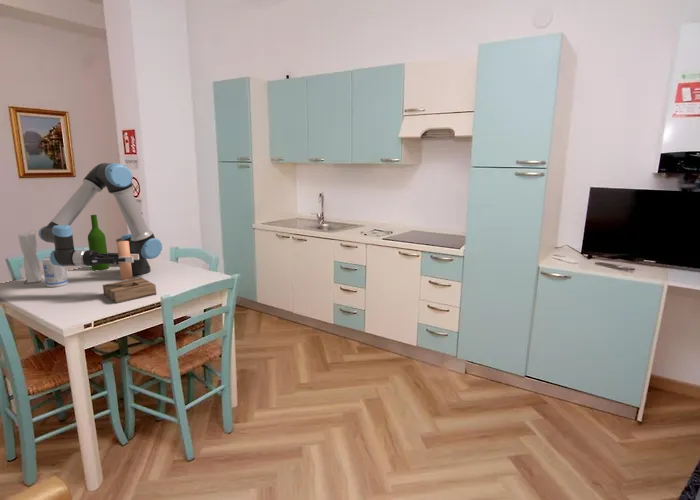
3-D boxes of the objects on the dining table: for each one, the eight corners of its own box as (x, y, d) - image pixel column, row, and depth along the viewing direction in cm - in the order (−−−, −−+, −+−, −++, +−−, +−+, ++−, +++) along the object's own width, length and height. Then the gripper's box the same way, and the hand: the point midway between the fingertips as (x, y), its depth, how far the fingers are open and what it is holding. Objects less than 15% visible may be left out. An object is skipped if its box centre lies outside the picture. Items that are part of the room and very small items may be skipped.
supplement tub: (41, 287, 213) (37, 260, 210) (53, 282, 222) (49, 255, 219) (61, 287, 213) (56, 259, 210) (72, 282, 222) (68, 255, 219)
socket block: (103, 294, 202) (102, 284, 201) (142, 286, 215) (141, 277, 214) (116, 303, 190) (115, 293, 189) (156, 294, 203) (155, 284, 202)
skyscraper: (45, 278, 229) (37, 228, 223) (43, 282, 222) (34, 230, 216) (26, 280, 225) (17, 229, 219) (23, 284, 218) (14, 232, 212)
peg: (119, 278, 200) (115, 241, 196) (130, 276, 204) (126, 240, 200) (123, 280, 197) (118, 243, 193) (134, 278, 200) (130, 241, 196)
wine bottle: (94, 267, 252) (87, 214, 245) (111, 266, 255) (104, 213, 248) (89, 271, 244) (82, 216, 237) (106, 270, 246) (99, 215, 239)
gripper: (98, 261, 207) (145, 261, 208) (75, 270, 190) (127, 270, 190) (96, 246, 206) (143, 246, 206) (73, 254, 188) (125, 254, 189)
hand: (135, 258), depth 198 cm, fingers closed on peg, 5 cm apart
